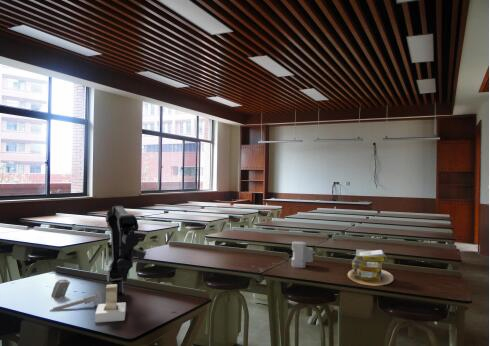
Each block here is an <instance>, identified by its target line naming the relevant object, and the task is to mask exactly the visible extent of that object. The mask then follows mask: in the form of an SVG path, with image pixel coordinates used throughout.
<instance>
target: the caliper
mask: <svg viewBox="0 0 490 346" xmlns="http://www.w3.org/2000/svg"><path fill="white" fill-rule="evenodd" d="M94 293H95V294H92V295H89V296H86V297H83V298H82V299H79V300H78V299H77V300H75V301H71V302H69V303H64V304H61V305H57V306H55V307H52V308H51V309H49V312H52V311H53V312H55V310H57V311H61V310H64V309H67V308H70V307H73V306H78V305H81V304H84V305H87V304H90V303H92V302H93V304H94V305H95V307H98V303H97V300H98V301H99V304H103V303H102V300H103V298H102V296H101V293H99V292H94Z"/></svg>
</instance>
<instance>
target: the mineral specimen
mask: <svg viewBox="0 0 490 346" xmlns="http://www.w3.org/2000/svg"><path fill="white" fill-rule="evenodd" d="M70 284H71V281H70V280H68V279H58V280H57V281H56V282H55V284H54V286H53V289H52V292H51V297H52V299H54V300H55V299H60V298H62V297H63V298H64V297H65V296H66V294H67V292H68V288H69V286H70Z"/></svg>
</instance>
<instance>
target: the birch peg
mask: <svg viewBox="0 0 490 346" xmlns="http://www.w3.org/2000/svg"><path fill="white" fill-rule="evenodd" d="M117 301H118V295H117V284H112V285H110V284H106V287H105V304H106V310H117V303H118V302H117Z"/></svg>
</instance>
